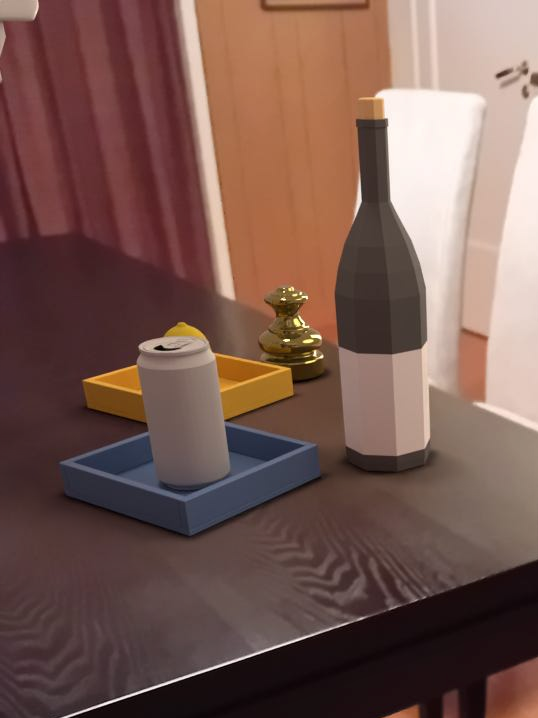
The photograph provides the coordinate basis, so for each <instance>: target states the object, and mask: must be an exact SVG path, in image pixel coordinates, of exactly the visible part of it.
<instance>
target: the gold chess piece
mask: <svg viewBox="0 0 538 718" xmlns="http://www.w3.org/2000/svg"><path fill="white" fill-rule="evenodd" d="M308 300H309V297H308V294H307V293H305V292H304V291H302V290H300V289H297V288H294V286H292V285H288V284H287V285H286V284H283V285H278V286H277V287H276V288H275V289H273V290H271V291H269V292H268V293H266V294H265V295H264V296H263V301H264V303H265V304H266V305H268V306H269V307H270V308H272V310H273V312H274V313H275V317H274V320H272V323H270V324H269V325H268V327H267V328H268V329H266V330H264V331H263V332H261V334H259V336H258V337H257V345H258V348H259V349H260V351H262V352H263V353H262V354H260V356H259V360H260V362H262V363H267V364H272V365H277V366H282V367H286V368H291V374H292V382H302V381H308V380H312V379H316V378H317V377H320V376H321V375H322V374H323V373H324V371H325V367H324V366H325V365H324V353H323V352H322V351H320V350H319V349H321V347H322V344H323V337H322V335H321V333H320V332H319V331H317V330H316V329H314V328H312V327H310V324H309V323H307V322H306V321H304V319H303V318H302V317H301V315H300V311H301V309H302V307H303V306H304V305H305V304H306V303H307V302H308Z"/></svg>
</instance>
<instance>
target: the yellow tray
mask: <svg viewBox="0 0 538 718" xmlns="http://www.w3.org/2000/svg"><path fill="white" fill-rule="evenodd" d="M213 354H214V355H215V357H216V364H217V372H218V379H219V387H220V394H221V402H222V409H223V416H224V421H226V420H229V419H232V418H234V417H237V416H240V415H243V414H245V413H249V412H252V411H253V410H256V409H259V408H261V407H264V406H267V405H270V404H272V403H276V402H278V401H281V400H285V399H286V398H290V397H291V396H294V386H293V385H294V384H293V381H292V374H291V368H286V367H282V366H277V365H272V364H267V363H262V362H261V361H256V360H251V359H246V358H242V357H237V356H231V355H226V354H222V353H216V352H213ZM81 382H82V385H83V386H82V387H83V392H84V395H85V400H86V405H87V408H88V409H91V410H96V411H99V412H103V413H107V414H111V415H115V416H119V417H122V418H126V419H130V420H134V421H136V422H137V421H138V422H142V423H146V424H147V420H146V414H145V408H144V403H143V397H142V391H141V385H140V380H139V374H138V368H137V364H135V365H131V366H128V367H124V368H120V369H117V370H113V371H110V372H106V373H103V374H99V375H96V376H93V377H89V378H86V379H82V381H81Z"/></svg>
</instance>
